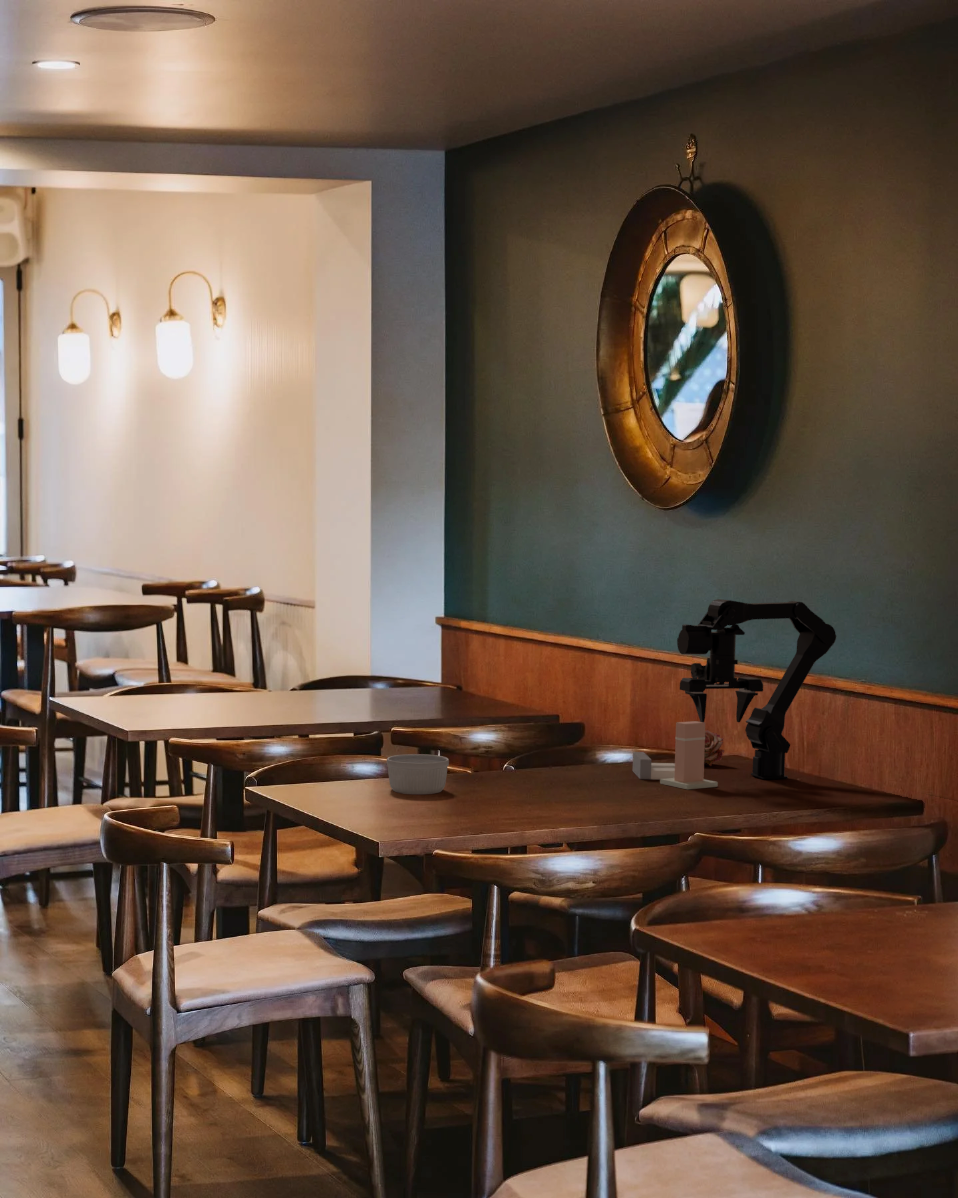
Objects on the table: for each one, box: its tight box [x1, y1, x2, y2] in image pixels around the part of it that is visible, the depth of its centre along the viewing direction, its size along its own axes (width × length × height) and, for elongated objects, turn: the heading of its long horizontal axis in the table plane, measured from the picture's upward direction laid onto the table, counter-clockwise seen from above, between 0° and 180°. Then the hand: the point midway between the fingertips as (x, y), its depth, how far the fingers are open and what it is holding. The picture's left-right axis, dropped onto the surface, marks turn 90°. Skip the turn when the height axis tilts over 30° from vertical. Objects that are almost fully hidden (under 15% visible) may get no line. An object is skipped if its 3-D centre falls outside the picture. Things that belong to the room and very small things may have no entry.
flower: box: [704, 729, 725, 767], centre depth 394 cm, size 10×9×8 cm
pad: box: [659, 778, 719, 790], centre depth 362 cm, size 9×9×1 cm
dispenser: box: [632, 751, 675, 780], centre depth 375 cm, size 12×12×4 cm
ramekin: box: [386, 753, 450, 795], centre depth 345 cm, size 13×13×7 cm
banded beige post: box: [674, 720, 706, 783], centre depth 361 cm, size 6×3×13 cm, turn 125°
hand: (720, 722), depth 371 cm, fingers open, 9 cm apart
